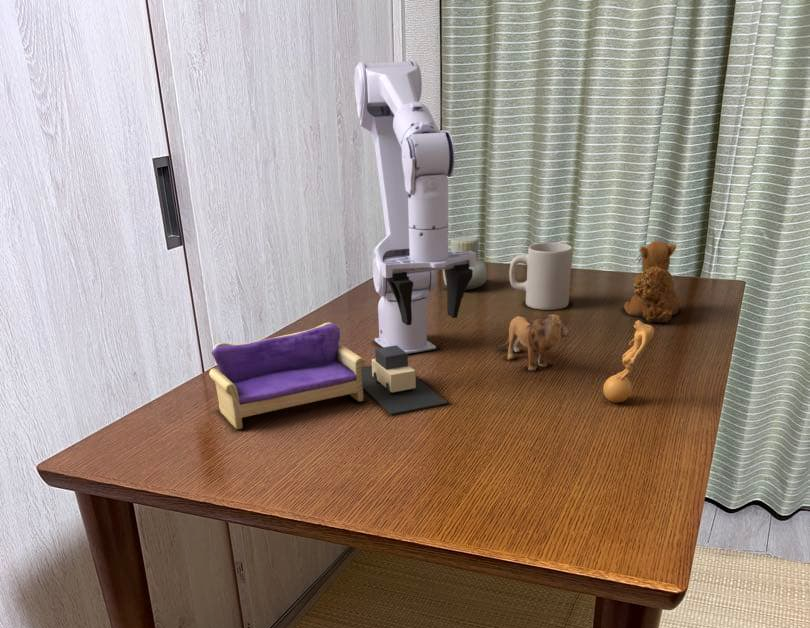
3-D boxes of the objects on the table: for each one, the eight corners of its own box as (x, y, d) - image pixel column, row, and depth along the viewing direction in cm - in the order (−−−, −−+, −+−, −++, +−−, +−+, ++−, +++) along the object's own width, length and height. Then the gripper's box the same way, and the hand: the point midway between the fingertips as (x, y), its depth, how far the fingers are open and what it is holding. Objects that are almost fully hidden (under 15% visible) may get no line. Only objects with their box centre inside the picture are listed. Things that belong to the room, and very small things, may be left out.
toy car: (372, 379, 128) (370, 346, 125) (395, 375, 129) (394, 342, 126) (391, 396, 122) (390, 361, 119) (416, 392, 123) (415, 357, 120)
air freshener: (441, 282, 179) (441, 234, 174) (478, 279, 180) (479, 232, 175) (449, 294, 170) (449, 245, 165) (488, 292, 171) (489, 243, 166)
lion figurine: (570, 370, 130) (574, 314, 125) (545, 377, 127) (548, 321, 122) (510, 347, 140) (512, 295, 135) (486, 353, 138) (487, 300, 133)
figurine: (602, 390, 122) (610, 310, 116) (643, 392, 121) (654, 312, 114) (601, 411, 115) (610, 328, 109) (645, 414, 114) (656, 330, 107)
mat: (344, 372, 132) (344, 370, 132) (395, 363, 135) (395, 361, 135) (391, 415, 116) (391, 413, 116) (447, 404, 119) (447, 402, 119)
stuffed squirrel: (675, 306, 158) (686, 236, 151) (684, 328, 146) (695, 253, 139) (623, 306, 159) (631, 236, 152) (627, 327, 148) (635, 252, 141)
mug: (569, 299, 165) (573, 242, 159) (567, 310, 158) (572, 252, 152) (510, 297, 167) (512, 242, 161) (506, 309, 160) (508, 251, 154)
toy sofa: (232, 432, 113) (221, 361, 107) (214, 411, 119) (203, 344, 114) (368, 402, 121) (364, 334, 115) (344, 384, 127) (339, 319, 122)
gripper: (392, 236, 111) (395, 333, 118) (486, 225, 115) (484, 319, 123) (373, 227, 117) (378, 321, 124) (464, 217, 121) (463, 308, 128)
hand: (429, 319), depth 124 cm, fingers open, 7 cm apart
